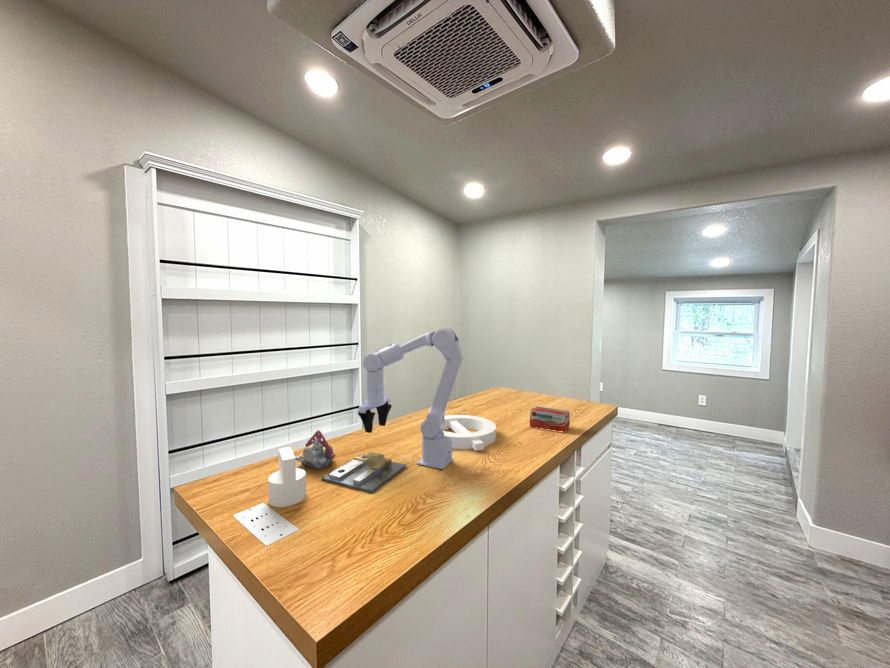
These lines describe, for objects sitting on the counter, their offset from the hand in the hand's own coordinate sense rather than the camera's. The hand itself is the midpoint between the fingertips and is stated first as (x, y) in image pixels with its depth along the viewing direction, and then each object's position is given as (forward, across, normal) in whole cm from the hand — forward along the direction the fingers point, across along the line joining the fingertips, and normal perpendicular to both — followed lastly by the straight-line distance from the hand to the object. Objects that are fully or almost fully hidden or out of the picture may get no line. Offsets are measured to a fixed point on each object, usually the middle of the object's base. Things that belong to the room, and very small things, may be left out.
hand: (375, 428), depth 117 cm
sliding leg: (+8, +10, +5) cm, 14 cm away
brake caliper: (+10, +13, -14) cm, 21 cm away
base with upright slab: (+10, +31, -5) cm, 33 cm away
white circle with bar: (+11, -32, +18) cm, 38 cm away
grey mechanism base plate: (+10, +11, +4) cm, 16 cm away
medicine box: (+11, -57, +48) cm, 76 cm away
